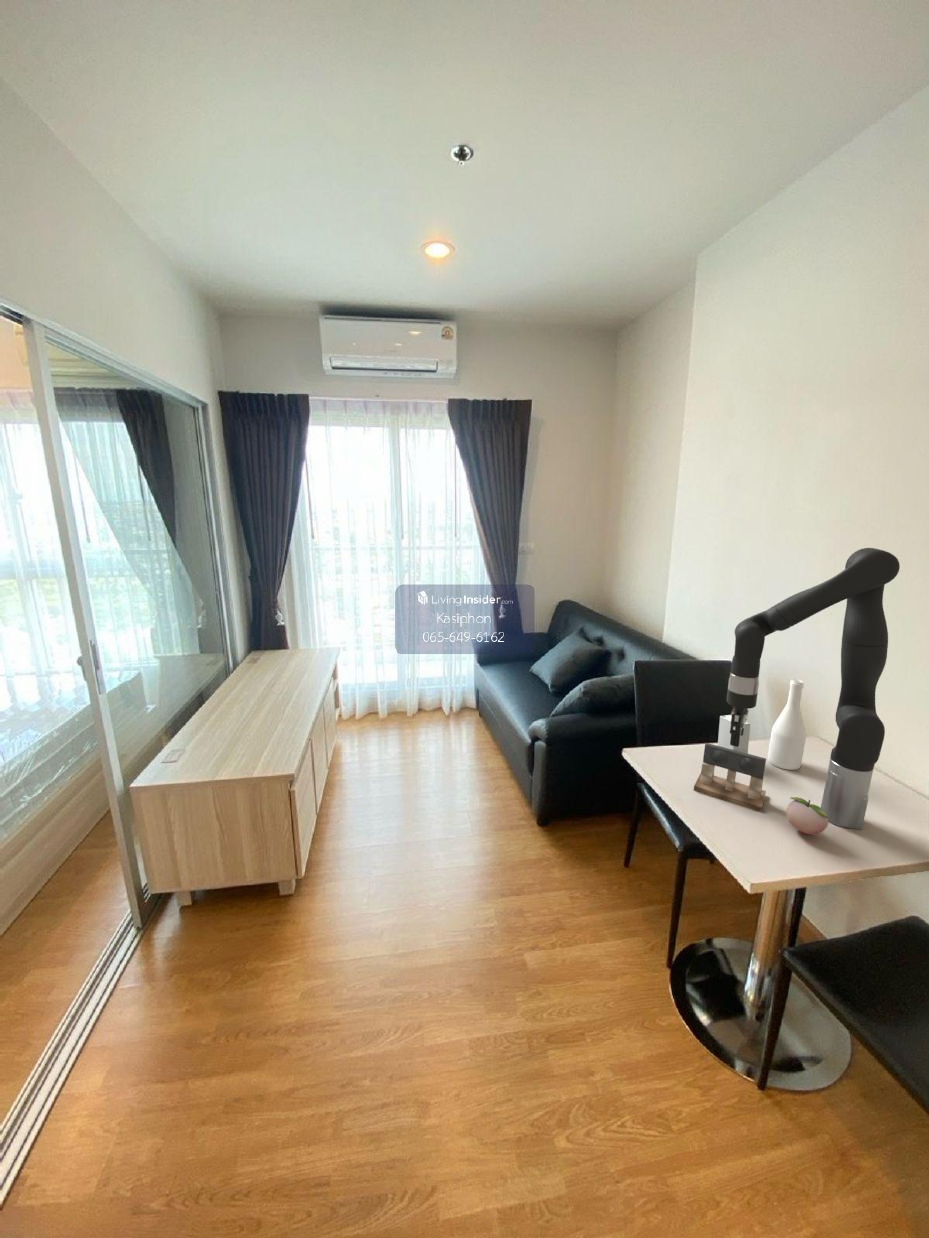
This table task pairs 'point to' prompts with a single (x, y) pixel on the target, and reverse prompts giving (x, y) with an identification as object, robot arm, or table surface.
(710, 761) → the dark flat rectangular bar
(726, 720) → the skincare box
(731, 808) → the table surface
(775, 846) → the table surface
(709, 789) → the wooden peg rack
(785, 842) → the table surface
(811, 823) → the decorative fruit
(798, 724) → the wine bottle
